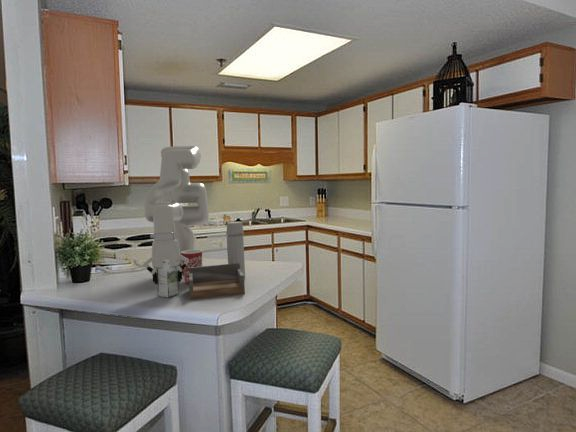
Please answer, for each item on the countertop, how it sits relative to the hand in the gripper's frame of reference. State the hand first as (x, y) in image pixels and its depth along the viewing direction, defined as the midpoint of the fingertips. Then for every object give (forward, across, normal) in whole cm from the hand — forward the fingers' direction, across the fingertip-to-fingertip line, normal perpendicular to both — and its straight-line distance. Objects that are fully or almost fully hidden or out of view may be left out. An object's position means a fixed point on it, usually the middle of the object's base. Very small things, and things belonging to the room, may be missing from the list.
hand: (168, 282), depth 149 cm
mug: (+5, +8, +18) cm, 20 cm away
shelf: (+5, +18, -2) cm, 19 cm away
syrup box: (+5, 0, 0) cm, 5 cm away
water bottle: (+5, +28, +14) cm, 32 cm away
